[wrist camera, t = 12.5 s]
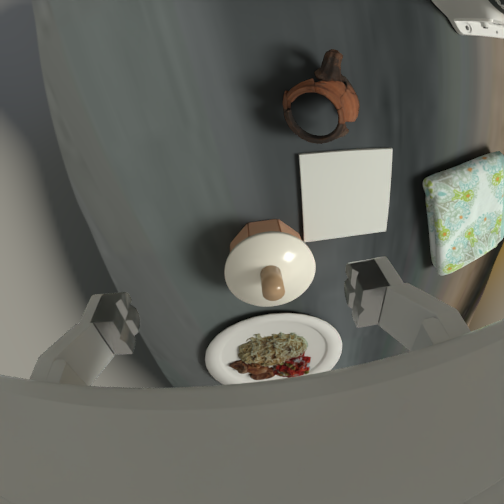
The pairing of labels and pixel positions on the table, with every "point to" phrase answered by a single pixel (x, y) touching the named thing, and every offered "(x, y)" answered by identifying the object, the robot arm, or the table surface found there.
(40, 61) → the table surface
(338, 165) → the mat
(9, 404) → the robot arm
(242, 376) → the plated food
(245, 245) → the lid
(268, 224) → the bowl
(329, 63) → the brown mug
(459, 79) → the table surface
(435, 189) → the towel
